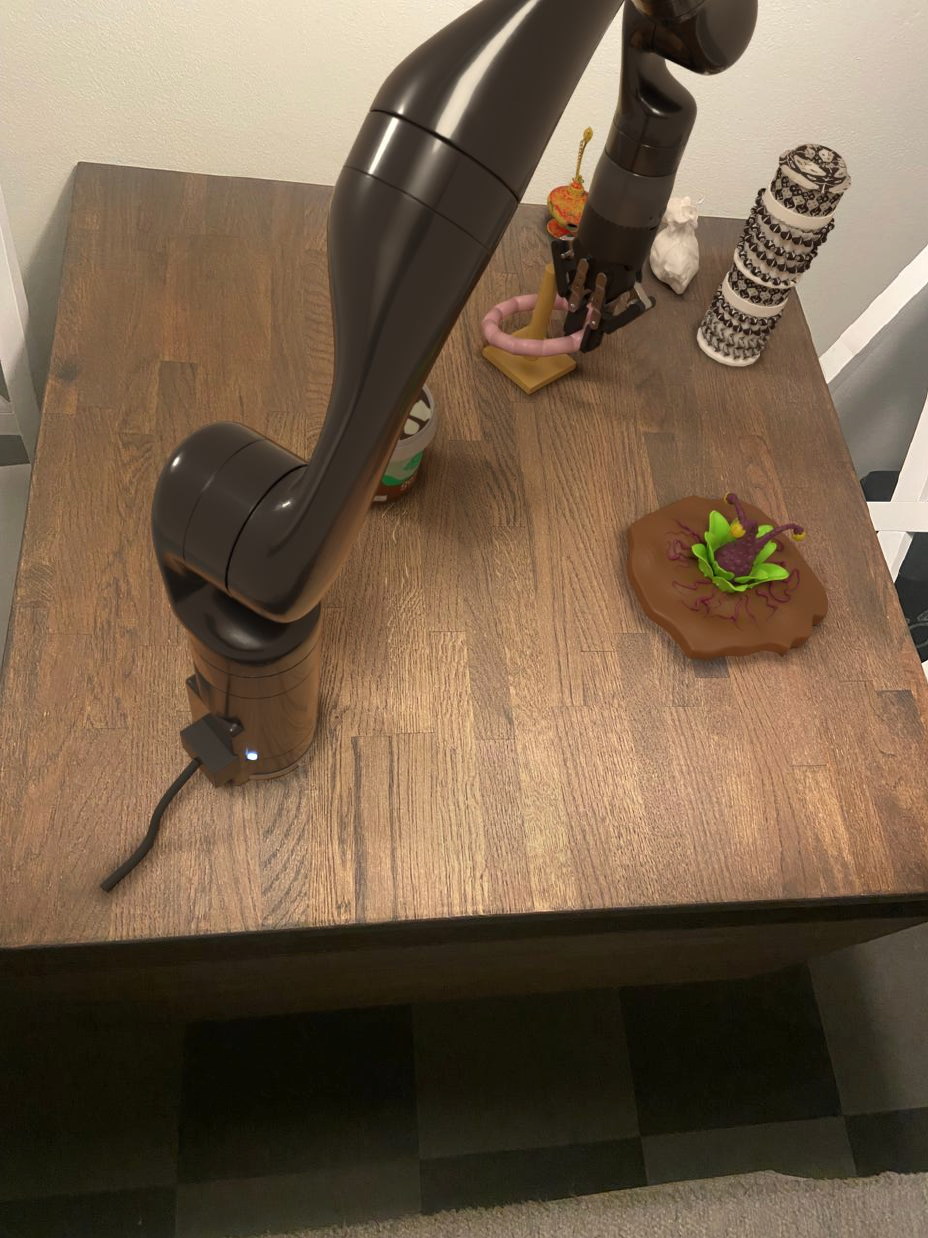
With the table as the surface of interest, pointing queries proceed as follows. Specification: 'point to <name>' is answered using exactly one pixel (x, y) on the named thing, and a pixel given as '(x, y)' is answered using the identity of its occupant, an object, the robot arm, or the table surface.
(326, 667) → the table surface
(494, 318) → the ring
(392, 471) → the food container
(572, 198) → the orange ornate vessel
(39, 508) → the table surface
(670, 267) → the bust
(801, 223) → the decorative candle
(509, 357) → the stand
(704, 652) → the plant
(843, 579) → the table surface
